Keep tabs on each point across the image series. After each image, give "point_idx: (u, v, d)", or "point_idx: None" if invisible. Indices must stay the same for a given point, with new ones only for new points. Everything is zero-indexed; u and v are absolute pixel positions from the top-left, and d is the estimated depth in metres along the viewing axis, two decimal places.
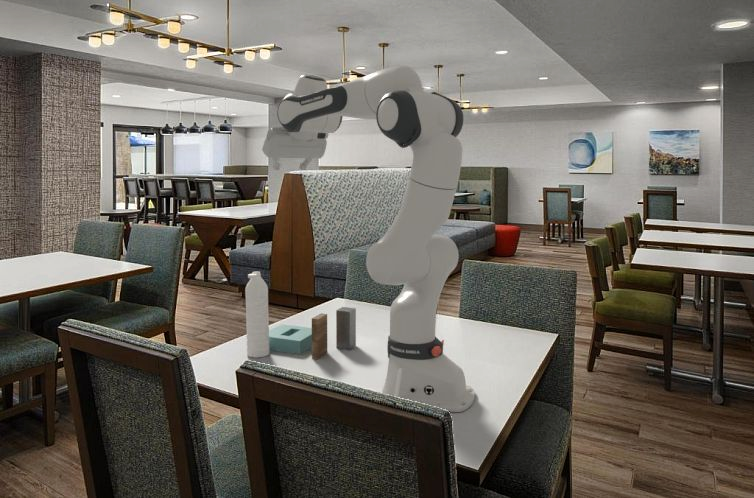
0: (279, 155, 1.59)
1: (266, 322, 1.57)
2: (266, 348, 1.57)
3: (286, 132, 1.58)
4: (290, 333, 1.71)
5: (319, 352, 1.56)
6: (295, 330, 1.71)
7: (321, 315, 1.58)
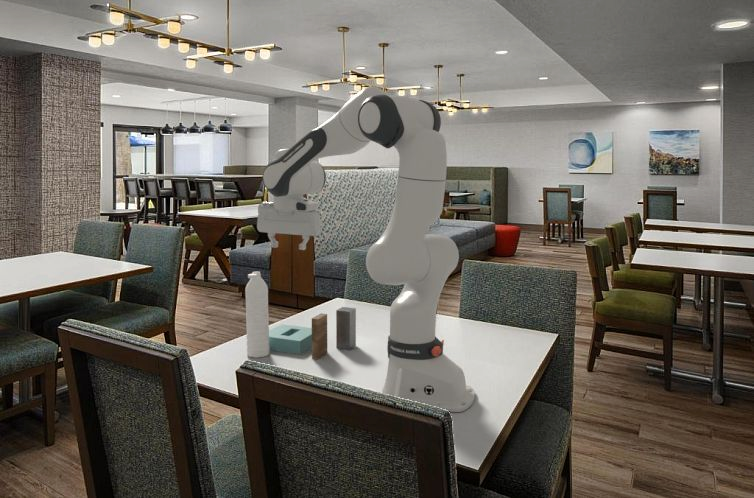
0: (268, 229, 1.63)
1: (266, 322, 1.57)
2: (266, 348, 1.57)
3: (274, 207, 1.63)
4: (290, 333, 1.71)
5: (319, 352, 1.56)
6: (295, 330, 1.71)
7: (321, 315, 1.58)
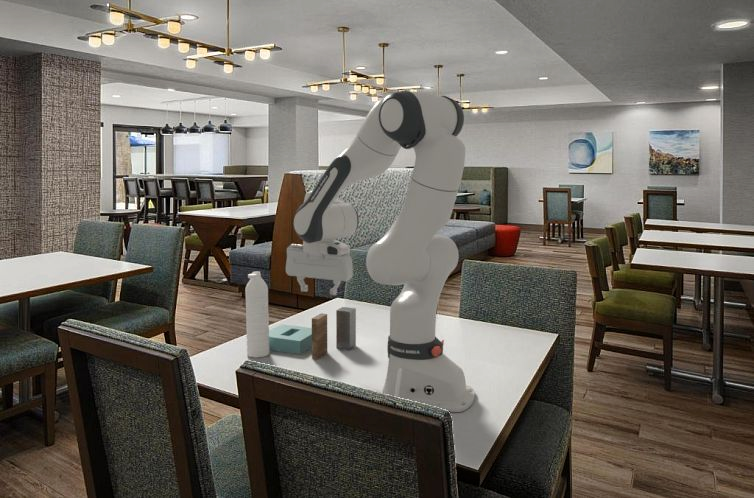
0: (297, 273, 1.55)
1: (266, 322, 1.57)
2: (266, 348, 1.57)
3: None
4: (290, 333, 1.71)
5: (319, 352, 1.56)
6: (295, 330, 1.71)
7: (321, 315, 1.58)
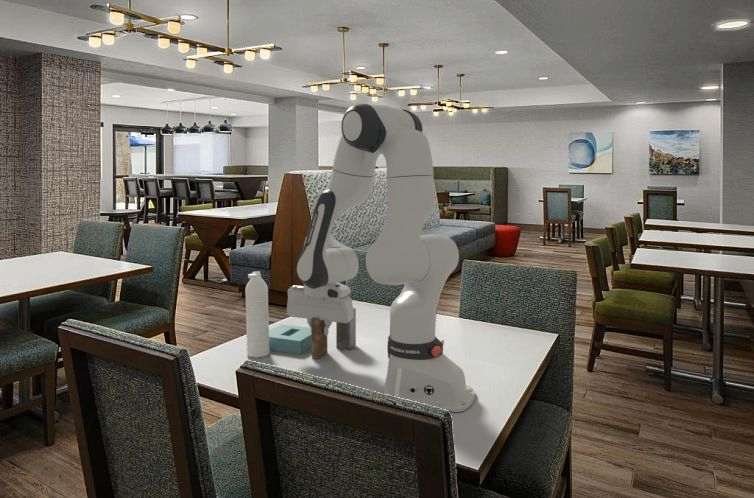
0: (298, 315, 1.57)
1: (266, 322, 1.57)
2: (266, 348, 1.57)
3: None
4: (290, 333, 1.71)
5: (319, 352, 1.56)
6: (295, 330, 1.71)
7: None
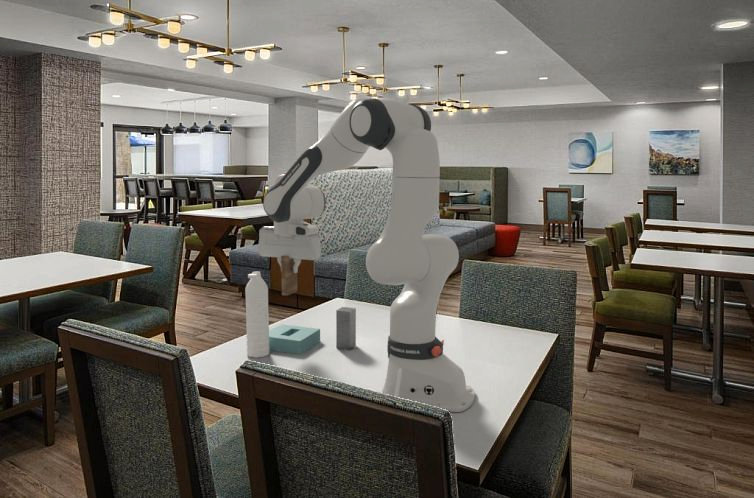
0: (269, 254, 1.64)
1: (266, 322, 1.57)
2: (266, 348, 1.57)
3: None
4: (290, 333, 1.71)
5: (288, 289, 1.63)
6: (295, 330, 1.71)
7: None
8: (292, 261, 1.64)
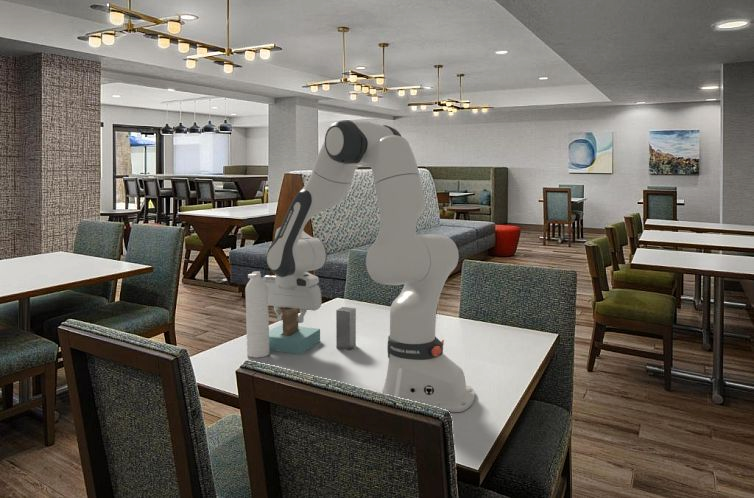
0: (270, 303, 1.67)
1: (266, 322, 1.57)
2: (266, 348, 1.57)
3: None
4: None
5: None
6: None
7: None
8: (293, 313, 1.67)
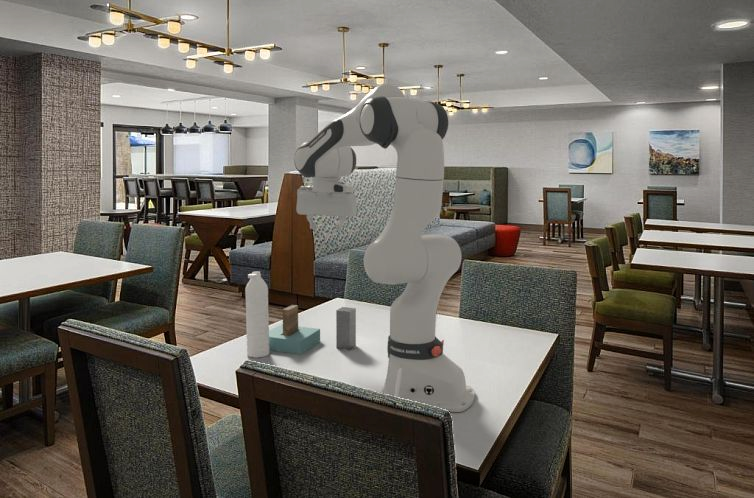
0: (307, 212, 1.73)
1: (266, 322, 1.57)
2: (266, 348, 1.57)
3: None
4: None
5: None
6: None
7: (292, 306, 1.67)
8: (293, 313, 1.67)
